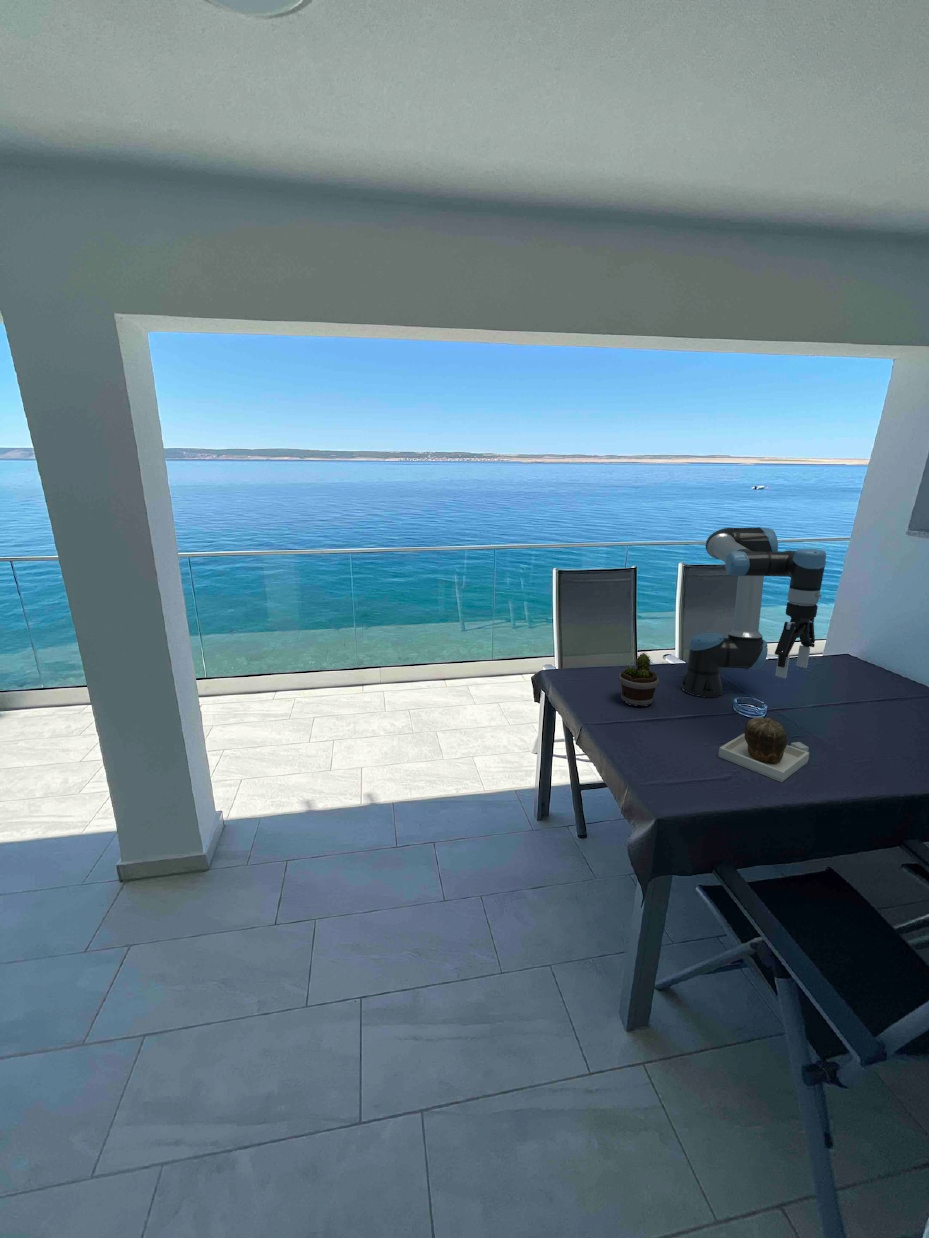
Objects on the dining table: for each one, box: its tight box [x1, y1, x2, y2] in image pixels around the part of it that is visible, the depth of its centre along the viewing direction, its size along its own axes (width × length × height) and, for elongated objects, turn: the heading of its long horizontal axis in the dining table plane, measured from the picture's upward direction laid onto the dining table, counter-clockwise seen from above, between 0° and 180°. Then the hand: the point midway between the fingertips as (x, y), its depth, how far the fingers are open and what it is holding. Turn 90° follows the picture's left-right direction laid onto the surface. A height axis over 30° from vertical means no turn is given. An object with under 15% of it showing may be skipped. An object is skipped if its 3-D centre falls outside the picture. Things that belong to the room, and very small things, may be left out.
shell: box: [744, 716, 788, 764], centre depth 148 cm, size 11×11×12 cm
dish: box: [717, 732, 810, 783], centre depth 150 cm, size 18×18×3 cm
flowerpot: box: [617, 651, 660, 707], centre depth 190 cm, size 14×15×20 cm
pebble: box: [790, 741, 810, 752], centre depth 154 cm, size 4×3×2 cm
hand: (791, 671), depth 151 cm, fingers open, 13 cm apart
